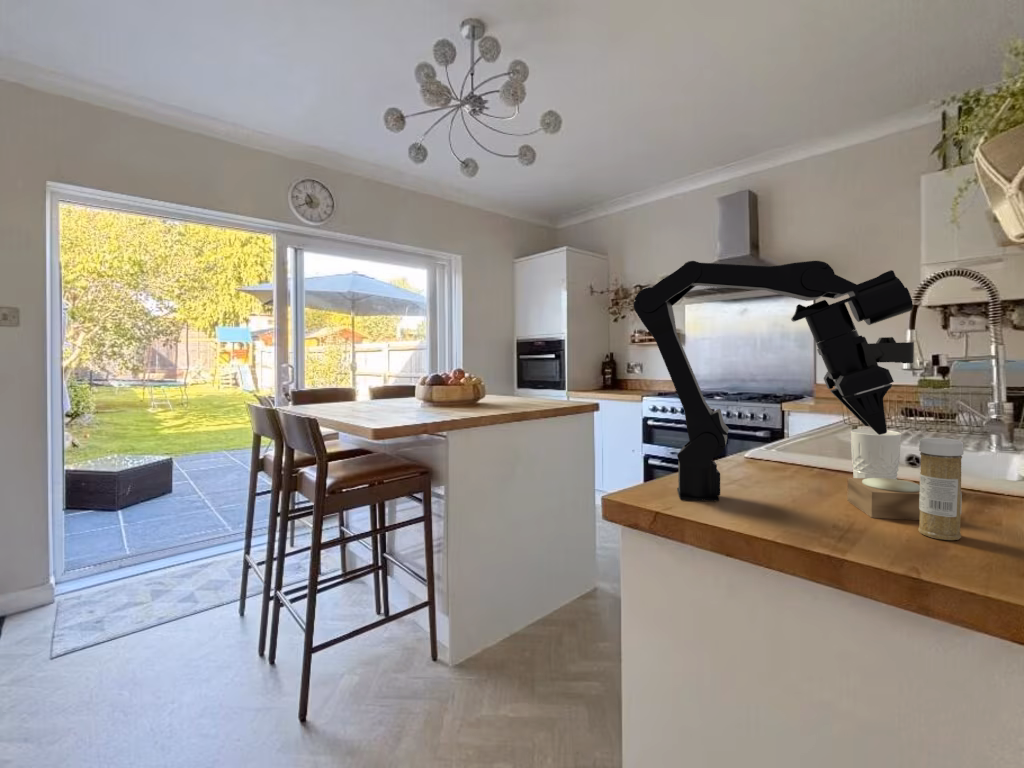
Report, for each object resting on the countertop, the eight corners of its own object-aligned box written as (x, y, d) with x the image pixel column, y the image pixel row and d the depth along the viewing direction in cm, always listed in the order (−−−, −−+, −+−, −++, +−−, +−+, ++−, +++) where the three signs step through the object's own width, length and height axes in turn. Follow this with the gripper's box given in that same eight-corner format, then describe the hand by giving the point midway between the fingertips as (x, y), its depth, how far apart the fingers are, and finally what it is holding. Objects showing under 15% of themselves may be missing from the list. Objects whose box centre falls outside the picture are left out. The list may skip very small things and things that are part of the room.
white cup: (850, 476, 100) (850, 427, 100) (899, 481, 96) (900, 430, 95) (849, 484, 94) (850, 433, 93) (901, 490, 89) (902, 436, 89)
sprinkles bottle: (965, 536, 67) (968, 439, 66) (954, 544, 65) (957, 443, 64) (924, 527, 71) (926, 435, 70) (911, 534, 68) (914, 438, 68)
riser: (871, 517, 75) (871, 490, 75) (847, 500, 84) (847, 475, 84) (940, 521, 73) (941, 492, 73) (908, 503, 82) (909, 478, 82)
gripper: (913, 312, 66) (962, 421, 65) (880, 320, 83) (919, 406, 81) (821, 343, 71) (865, 445, 69) (808, 344, 88) (843, 427, 86)
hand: (875, 429), depth 76 cm, fingers open, 9 cm apart
